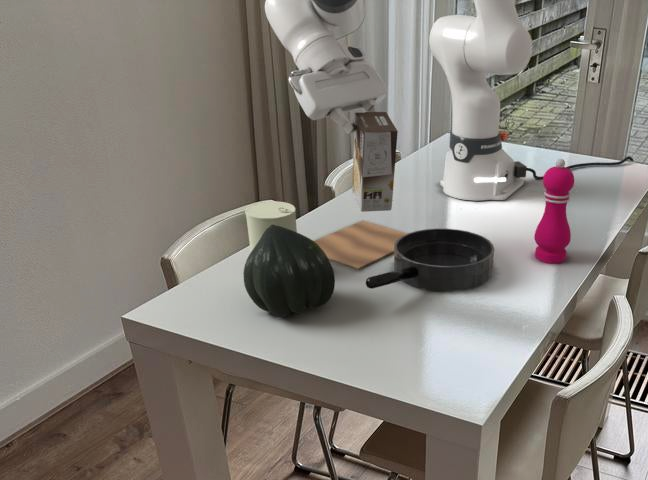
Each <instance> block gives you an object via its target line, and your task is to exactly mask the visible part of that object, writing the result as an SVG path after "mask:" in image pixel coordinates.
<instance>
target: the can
mask: <svg viewBox="0 0 648 480" xmlns="http://www.w3.org/2000/svg"><path fill="white" fill-rule="evenodd" d="M296 211H297V209H296V207H295V206H294V205H293V204H292V203H289V202H285V201H276V200H274V201H273V200H270V201H269V200H268V201H267V200H266V201H261V202H256V203H253V204H250V205H249V206H247V207H246V208H245V211H244V213H245V219H246V226H247V232H248V243H249V250H250V251H249V252H250V253H251V251H252V250H253V248H254V247H255V245H256V244H257V243H258V241H259V239H260V238H261V236H262V234H263V233H264V231H265V230H266V229H267V228H268V227H270V225H272V224H274V225H276V226H281V227H284V228H287V229H289V230H292V231H295V232H297V233H298V230H297V216H296V215H297V214H296Z"/></svg>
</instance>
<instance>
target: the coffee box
mask: <svg viewBox="0 0 648 480" xmlns="http://www.w3.org/2000/svg"><path fill="white" fill-rule="evenodd" d="M354 123H355V125H356V126H357V129H356V130H355V132H354V133H353V134H354V135H353V162H352V184H351V185H352V186H351V187H352V188H351V191H352V194H353V196H354V199H355V201H356V203H357V205H358V208H359V210H360V211H361V213H365V212H385V211H392V207H393V197H394V196H393V195H394V183H395V170H396V169H395V168H396V158H397V156H396V155H397V144H398V132H399V131H398V129H397V128H396V126H395V124H394V123H393V121H392V119H391V117H390V116H389V114H388V112H387V111H378V112H368V111H367V112H366V111H365V112H354Z"/></svg>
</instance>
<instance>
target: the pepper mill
mask: <svg viewBox="0 0 648 480" xmlns="http://www.w3.org/2000/svg"><path fill="white" fill-rule="evenodd" d="M566 167H567V166H566V161H565V159H563V158H557V160H556V161H555V166H552V167H550V168H548V169H547V170H546V171H545V173H544V174H543V176H544V177H543V176H542V177H543V179H542V185H543V187H544V189H545V190H544V192H543V194H544V195H543V199H544V200H545V206H544V211H543V214H542V217H541V218H540V221H539V223H538V224H537V226H536V228H535V231H534V236H533V240H534V242H535V244H536V245H537V246H536V247H535V250H534V257H535V259H536V260H537V261H539V262H541V263H544V264H552V265H553V264H562V263H564V262H565V261H566V259H567V253H568V252H567V249H566V248H567V247H568V246H569V244H570V243H571V238H572V233H571V228H570V225H569V221H568V218H567V217H568V216H567V206H568V203H569V202H570V200H571V198H570V196H571V192H570V191H572V189H573V188H574V186H575V175H574V172H573V171H571V169H568V168H566Z"/></svg>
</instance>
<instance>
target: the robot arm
mask: <svg viewBox="0 0 648 480" xmlns="http://www.w3.org/2000/svg"><path fill="white" fill-rule="evenodd" d="M472 1H473V3H474V6H475V13H476V14H475V15H476V16H473V15H466V14H451V15H450V14H449V15H445V16H441V17H439V18H437V20H435V22H434V23H433V25H432V27H431V29H430V31H429V32H430V33H429V36H428V39H429V41H428V44H429V49H430V52H431V55H432V56H433V57H434V59H435V60H436V61H437V62H438V64H439V66H440V67H441V68H442V71H443V72H444V75H445V78H446V80H447V83H448V86H449V87H448V88H449V90H450V97H451V118H452V119H451V131H450V132H449V138H448V139H449V140H448V141H449V149H450V150H449V151H448V152H447V153H446V155H445V164H444V173H443V179H440V180H439V181H440V182H439V185H440V186H441V187H442V190H443V193H444V194H445V195H446V196H449V197H451V198H455V199H459V200H462V201H463V200H464V201H476V202H477V201H490V200H491V201H505V200H507V199H508V198H509V197H511V195H513V194H514V193H515V192H516V191H518V190H519V189H520V188H521V187H522V186H523V185H524V184H525V181H524V179H523V178H526V177H527V172H531V173H532V176H533V178H534V179H535V180H543V177H544V175H543V176H537V171H536V170H535V169H533V168H530V167H527V165H525V164H524V163H522V162H521V161H519V160H518V161H515V160H514V158H512V157H511V156H510V155H509V154H508V153H507V152H506V151H505V150H504V149H503V144H502V142H506V141H507V140H508V137H509V133H508V132H506V131H500V119H501V118H500V117H501V100H500V97H499V95H498V94H497V93H496V91H495V90H494V89H493V88H492V87H491V85H490V84H489V82H488V80H487V77H486V74H491V75H496V76H509V75H517V74H520V73H522V72H523V71H524V69H526V67H527V66H528V64H529V62H530V60H531V57H532V54H533V41H532V36H531V33H530V32H529V31H528V29H527V28H526V27H525V25H524V24H523V22H522V21H521V18H520V17H519V14H518V12H517V7H516V5H515V4H516V3H515V0H472ZM264 12H265V17H266V18H267V21H268V23H269V25H270V26H271V29H272V30H273V32H274V34H275V35H276V37H277V39H278V40H279V41H280V43H281V45H282V46H283V48H285V49H286V50H287V51H288V52H289V53H290V54H291V57H292V59H293V62H294V64H295V66H296V67H297V69H298V70H297V69H296V70H293V71H291V72H290V74H289V76H288V83H289V84H290V86H291V87H292V89H293V92H294V95H295V97H296V99H297V102H298V103H299V105H300V107H301V109H302V110H303V112H304V113H305V115H306V116H307V118H309V119H310V120H312V121H317V120H321V119H324V118H328V117H329V118H330V119H331V121H333V122H334V123H335V124H337V125H338V126H340V127H342V128H343V130H344V132H345V133H346V134H347V135H349V134H354V132H355V130H356V129H357V126H356V125H355V120H353V119H349V118H348V117H346V116H345V115H344V113H348V112H352V111H356V110H359V109H364V111H365V112H379V111H378V104H380V103H381V102H382V101H383V100H384V99H385V98H386V96H387V95H388V88H387V85H386V83H385V82H384V81H383V79H382V77H381V75H380V74H379V73H378V71H377V70H376V68H375V67H374V66H373V65H372V64H371V63H370V62H369V61H367V60H366V58H367V54H366V52H365V51H364V49H362V48H360V47H356V46H352V45H351V46H350V45H348V44H345V43H342V42H338V41H337V40H340V39H342V38H344V37H346V36H348V35H350V34H353V33H355V32H356V31H357V30H359V28H360V27H361V26H362V25H363V23H364V22H365V21H364V20H365V18H366V0H265V2H264ZM628 160H630V162H634V161H635V160H634V159H633V157H632V156H629V155H628V156H626V157H625V158H623V159H622V160H620V161H613V162H600V161H599V162H585V163H584V162H583V163H577V164H572V165H568V166H565V167H566V168H568V169H569V170H571V169H574V168H581V167H590V166H619V165H622V164H624V163H625V162H626V161H628Z"/></svg>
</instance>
